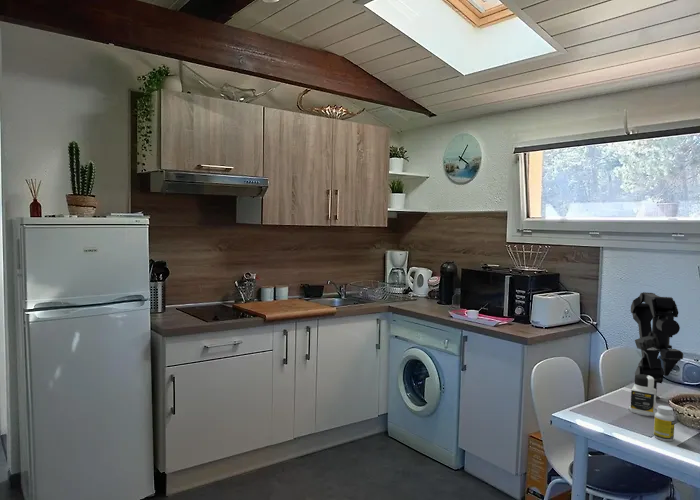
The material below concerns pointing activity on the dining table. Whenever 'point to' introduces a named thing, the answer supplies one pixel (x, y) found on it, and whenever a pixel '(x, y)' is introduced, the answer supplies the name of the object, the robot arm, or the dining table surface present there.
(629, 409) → the white round dome
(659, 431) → the supplement bottle
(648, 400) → the medicine bottle
